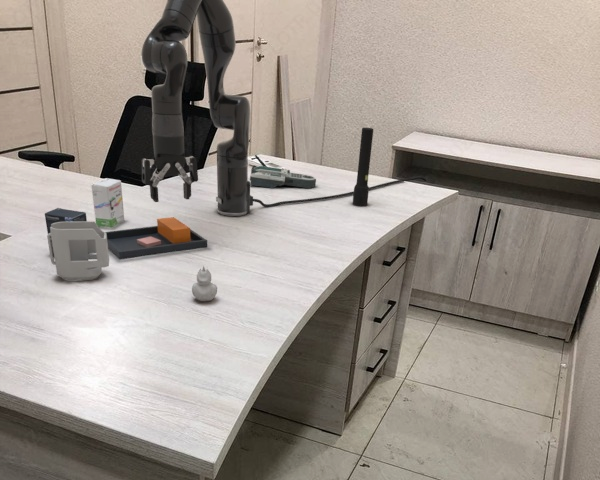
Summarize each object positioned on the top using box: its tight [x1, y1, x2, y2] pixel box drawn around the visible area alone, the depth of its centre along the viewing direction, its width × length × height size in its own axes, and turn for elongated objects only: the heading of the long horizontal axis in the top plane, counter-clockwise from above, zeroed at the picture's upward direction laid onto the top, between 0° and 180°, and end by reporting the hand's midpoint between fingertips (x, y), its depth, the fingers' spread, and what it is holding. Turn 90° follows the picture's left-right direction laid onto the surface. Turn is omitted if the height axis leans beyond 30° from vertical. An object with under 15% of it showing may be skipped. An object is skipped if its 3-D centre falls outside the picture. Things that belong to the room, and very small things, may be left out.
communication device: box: [249, 154, 317, 189], centre depth 226 cm, size 12×24×9 cm, turn 89°
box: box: [44, 207, 88, 257], centre depth 152 cm, size 8×6×11 cm
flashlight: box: [352, 127, 374, 207], centre depth 205 cm, size 5×24×5 cm
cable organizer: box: [46, 220, 110, 281], centre depth 140 cm, size 7×12×12 cm, turn 103°
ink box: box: [90, 177, 126, 228], centre depth 175 cm, size 8×5×12 cm, turn 167°
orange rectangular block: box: [156, 216, 191, 244], centre depth 166 cm, size 5×11×5 cm, turn 33°
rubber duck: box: [191, 265, 218, 302], centre depth 135 cm, size 5×7×8 cm
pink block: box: [137, 236, 161, 247], centre depth 164 cm, size 4×4×1 cm
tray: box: [98, 225, 208, 260], centre depth 164 cm, size 24×17×2 cm
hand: (171, 200), depth 161 cm, fingers open, 8 cm apart
